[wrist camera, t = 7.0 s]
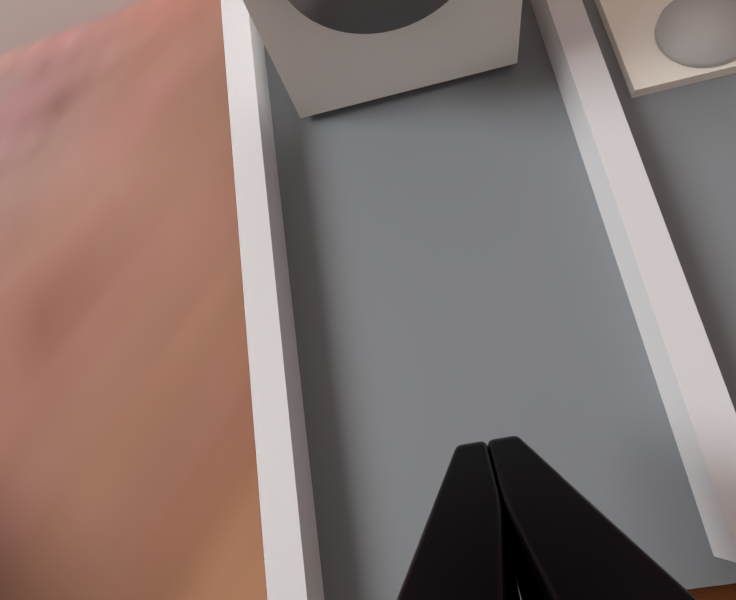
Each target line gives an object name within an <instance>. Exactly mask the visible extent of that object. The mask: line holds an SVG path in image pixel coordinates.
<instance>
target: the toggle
mask: <svg viewBox="0 0 736 600" xmlns="http://www.w3.org/2000/svg"><path fill="white" fill-rule="evenodd" d="M243 2H244V4H245V6H246V8H247V10H248V12H249V14H250V16H251V18H252V20H253V23H254V25H255V27H256V29H257V31H258V33H259V35H260V37H261V39H262V41H263V43H264V45H265V47H266V49H267V51H268V53H269V55H270V57H271V59H272V61H273V63H274V66H275V68H276V70H277V72H278V74H279V76H280V78H281V80H282V82H283V84H284V86H285V88H286V90H287V92H288V94H289V96H290V98H291V100H292V102H293V104H294V106H295V109H296V111H297V113H298V115H299V117H300V118H304V117H308V116H311V115H315V114H319V113H323V112H327V111H331V110H335V109H339V108H343V107H347V106H351V105H355V104H359V103H363V102H366V101H370V100H374V99H378V98H382V97H386V96H390V95H394V94H398V93H402V92H406V91H410V90H414V89H418V88H421V87H425V86H429V85H433V84H437V83H441V82H445V81H449V80H453V79H457V78H461V77H465V76H469V75H472V74H476V73H480V72H484V71H488V70H492V69H496V68H500V67H504V66H508V65H512V64H516V63H517V60H518V47H519V35H520V23H521V11H522V0H243Z"/></svg>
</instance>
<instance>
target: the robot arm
mask: <svg viewBox="0 0 736 600" xmlns="http://www.w3.org/2000/svg"><path fill="white" fill-rule="evenodd" d="M518 588H519V589H518ZM519 593H520V594H519ZM520 596H521V600H697V599H696V598H695V597H694V596H693V595H692V594H690V593H689V592H688V591H687V590H686V589H685V588H684V587H683V586H682V585H681V584H680V583H678V582H677V581H676V580H675V579H674V578H673V577H672V576H671V575H670V574H669V573H667V572H666V571H665V570H664V569H663V568H662V567H661V566H660V565H659V564H658V563H657V562H655V561H654V560H653V559H652V558H651V557H650V556H649V555H648V554H647V553H646V552H644V551H643V550H642V549H641V548H640V547H639V546H638V545H637V544H636V543H635V542H634V541H632V540H631V539H630V538H629V537H628V536H627V535H626V534H625V533H624V532H623V531H621V530H620V529H619V528H618V527H617V526H616V525H615V524H614V523H613V522H612V521H610V520H609V519H608V518H607V517H606V516H605V515H604V514H603V513H602V512H601V511H600V510H598V509H597V508H596V507H595V506H594V505H593V504H592V503H591V502H590V501H589V500H587V499H586V498H585V497H584V496H583V495H582V494H581V493H580V492H579V491H578V490H577V489H575V488H574V487H573V486H572V485H571V484H570V483H569V482H568V481H567V480H566V479H564V478H563V477H562V476H561V475H560V474H559V473H558V472H557V471H556V470H555V469H554V468H552V467H551V466H550V465H549V464H548V463H547V462H546V461H545V460H544V459H543V458H541V457H540V456H539V455H538V454H537V453H536V452H535V451H534V450H533V449H532V448H531V447H529V446H528V445H527V444H526V443H525V442H524V441H523V440H522V439H521V438H519V437H517V436H509V437H503V438H497V439H492V440H490V441H489V442H488V446H487V444H486V443H485V442H483V441H480V442H474V443H468V444H462V445H459V446H457V447H456V449H455V451H454V453H453V456H452V458H451V461H450V463H449V466H448V469H447V471H446V474H445V476H444V479H443V481H442V484H441V487H440V489H439V492H438V494H437V497H436V499H435V502H434V505H433V507H432V510H431V512H430V515H429V517H428V520H427V523H426V525H425V528H424V530H423V533H422V535H421V538H420V541H419V543H418V546H417V548H416V551H415V553H414V556H413V559H412V561H411V564H410V566H409V569H408V571H407V574H406V577H405V579H404V582H403V584H402V587H401V589H400V592H399V595H398V597H397V600H520Z"/></svg>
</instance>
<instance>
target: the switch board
mask: <svg viewBox="0 0 736 600" xmlns="http://www.w3.org/2000/svg"><path fill="white" fill-rule="evenodd" d="M221 10H222V23H223V36H224V49H225V61H226V74H227V87H228V100H229V112H230V125H231V138H232V151H233V164H234V176H235V189H236V202H237V215H238V227H239V240H240V253H241V266H242V279H243V291H244V304H245V317H246V330H247V343H248V355H249V368H250V381H251V394H252V406H253V419H254V432H255V445H256V458H257V470H258V483H259V496H260V509H261V522H262V534H263V547H264V560H265V573H266V585H267V598H268V600H397V597H398V595H399V592H400V589H401V587H402V584H403V582H404V579H405V577H406V574H407V571H408V569H409V566H410V564H411V561H412V559H413V556H414V553H415V551H416V548H417V546H418V543H419V541H420V538H421V535H422V533H423V530H424V528H425V525H426V523H427V520H428V517H429V515H430V512H431V510H432V507H433V505H434V502H435V499H436V497H437V494H438V492H439V489H440V487H441V484H442V481H443V479H444V476H445V474H446V471H447V469H448V466H449V463H450V461H451V458H452V456H453V453H454V451H455V449H456V447H457V446H459V445H462V444H468V443H474V442H480V441H483V442H485V443H486V444H487V446H488V442H489V441H490V440H492V439H497V438H503V437H509V436H517V437H519V438H521V439H522V440H523V441H524V442H525V443H526V444H527V445H528V446H529V447H531V448H532V449H533V450H534V451H535V452H536V453H537V454H538V455H539V456H540V457H541V458H543V459H544V460H545V461H546V462H547V463H548V464H549V465H550V466H551V467H552V468H554V469H555V470H556V471H557V472H558V473H559V474H560V475H561V476H562V477H563V478H564V479H566V480H567V481H568V482H569V483H570V484H571V485H572V486H573V487H574V488H575V489H577V490H578V491H579V492H580V493H581V494H582V495H583V496H584V497H585V498H586V499H587V500H589V501H590V502H591V503H592V504H593V505H594V506H595V507H596V508H597V509H598V510H600V511H601V512H602V513H603V514H604V515H605V516H606V517H607V518H608V519H609V520H610V521H612V522H613V523H614V524H615V525H616V526H617V527H618V528H619V529H620V530H621V531H623V532H624V533H625V534H626V535H627V536H628V537H629V538H630V539H631V540H632V541H634V542H635V543H636V544H637V545H638V546H639V547H640V548H641V549H642V550H643V551H644V552H646V553H647V554H648V555H649V556H650V557H651V558H652V559H653V560H654V561H655V562H657V563H658V564H659V565H660V566H661V567H662V568H663V569H664V570H665V571H666V572H667V573H669V574H670V575H671V576H672V577H673V578H674V579H675V580H676V581H677V582H678V583H680V584H681V585H682V586H683V587H684V588H685V589H686V590H687V589H695V588H703V587H710V586H718V585H726V584H733V583H736V0H522V11H521V23H520V35H519V47H518V60H517V63H516V64H512V65H508V66H504V67H500V68H496V69H492V70H488V71H484V72H480V73H476V74H472V75H469V76H465V77H461V78H457V79H453V80H449V81H445V82H441V83H437V84H433V85H429V86H425V87H421V88H418V89H414V90H410V91H406V92H402V93H398V94H394V95H390V96H386V97H382V98H378V99H374V100H370V101H366V102H363V103H359V104H355V105H351V106H347V107H343V108H339V109H335V110H331V111H327V112H323V113H319V114H315V115H311V116H308V117H304V118H300V117H299V115H298V113H297V111H296V109H295V106H294V104H293V102H292V100H291V98H290V96H289V94H288V92H287V90H286V88H285V86H284V84H283V82H282V80H281V78H280V76H279V74H278V72H277V70H276V68H275V66H274V63H273V61H272V59H271V57H270V55H269V53H268V51H267V49H266V47H265V45H264V43H263V41H262V39H261V37H260V35H259V33H258V31H257V29H256V27H255V25H254V23H253V20H252V18H251V16H250V14H249V12H248V10H247V8H246V6H245V4H244V2H243V0H221ZM518 589H519V588H518ZM519 594H520V593H519ZM520 600H521V596H520Z"/></svg>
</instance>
